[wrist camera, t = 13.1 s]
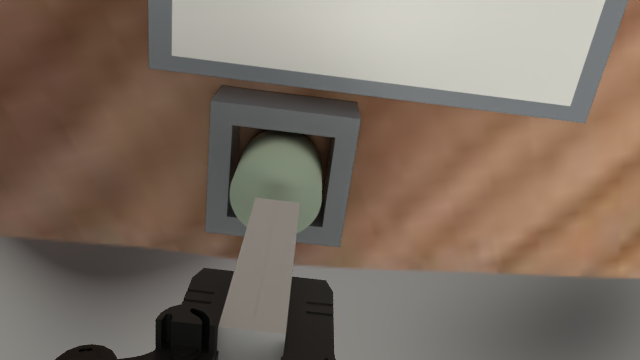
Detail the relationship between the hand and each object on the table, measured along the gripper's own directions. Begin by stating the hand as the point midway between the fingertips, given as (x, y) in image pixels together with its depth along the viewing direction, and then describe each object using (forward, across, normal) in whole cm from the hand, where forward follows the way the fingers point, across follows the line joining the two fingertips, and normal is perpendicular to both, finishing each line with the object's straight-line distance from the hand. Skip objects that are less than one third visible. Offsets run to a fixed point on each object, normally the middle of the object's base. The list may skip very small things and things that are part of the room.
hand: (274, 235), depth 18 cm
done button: (+6, 0, 0) cm, 6 cm away
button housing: (+7, 0, 0) cm, 7 cm away
